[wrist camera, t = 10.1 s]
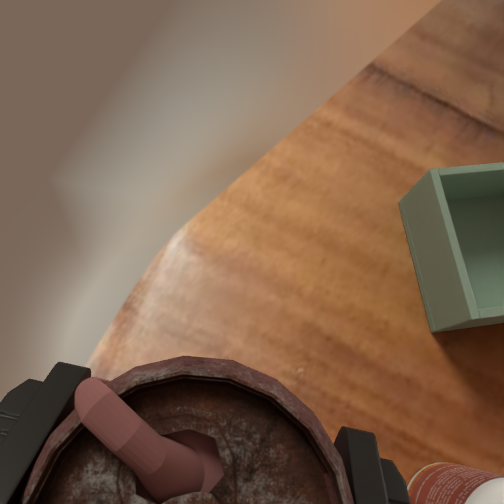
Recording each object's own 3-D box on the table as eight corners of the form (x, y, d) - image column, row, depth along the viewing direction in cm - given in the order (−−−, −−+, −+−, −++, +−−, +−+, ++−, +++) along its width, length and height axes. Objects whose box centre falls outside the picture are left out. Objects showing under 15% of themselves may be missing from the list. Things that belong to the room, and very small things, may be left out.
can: (192, 352, 22) (172, 272, 9) (294, 449, 21) (447, 523, 8) (93, 458, 20) (-119, 561, 7) (201, 569, 19) (193, 925, 6)
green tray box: (430, 333, 35) (471, 319, 30) (397, 202, 38) (429, 168, 33) (559, 315, 37) (621, 299, 31) (517, 190, 40) (567, 156, 34)
